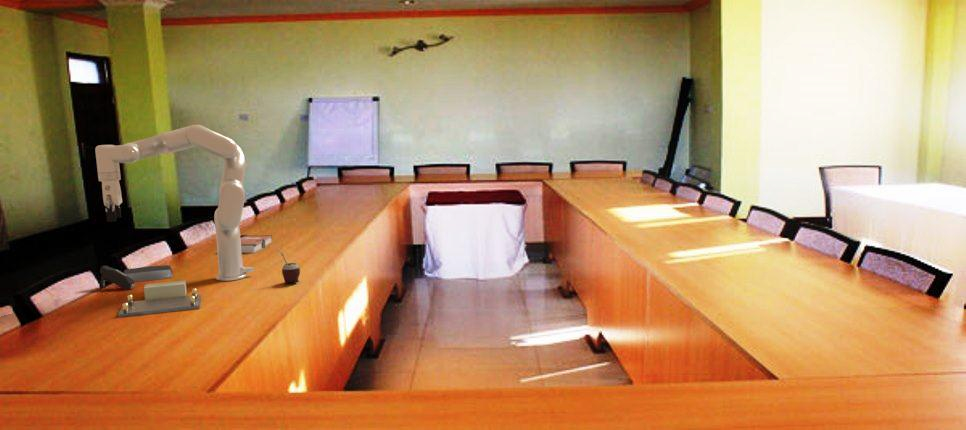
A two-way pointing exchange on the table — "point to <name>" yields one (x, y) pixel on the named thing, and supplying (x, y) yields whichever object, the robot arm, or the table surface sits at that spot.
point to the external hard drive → (149, 273)
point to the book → (254, 243)
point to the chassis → (160, 305)
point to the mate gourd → (290, 272)
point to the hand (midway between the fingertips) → (114, 219)
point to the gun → (115, 278)
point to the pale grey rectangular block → (165, 290)
